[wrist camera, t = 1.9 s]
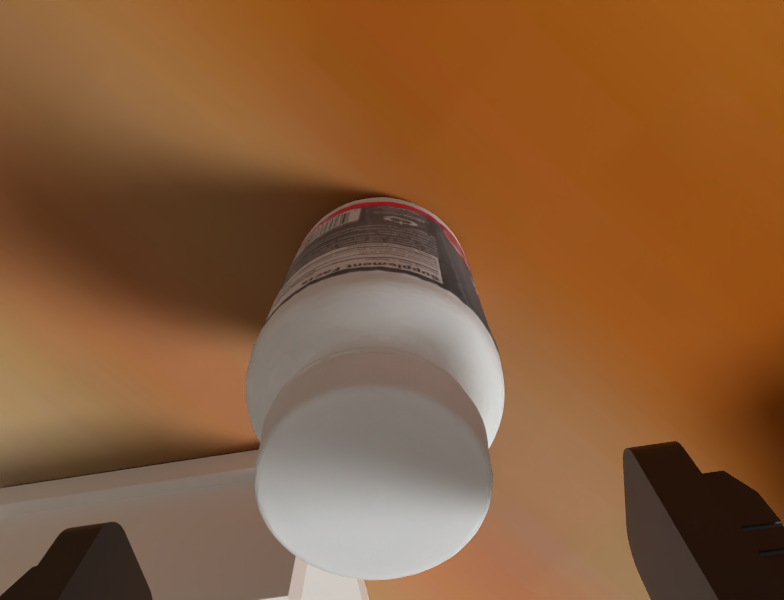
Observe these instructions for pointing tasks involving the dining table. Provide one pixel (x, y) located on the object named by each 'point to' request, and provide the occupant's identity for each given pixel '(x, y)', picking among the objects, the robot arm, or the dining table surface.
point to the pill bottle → (375, 396)
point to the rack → (171, 531)
